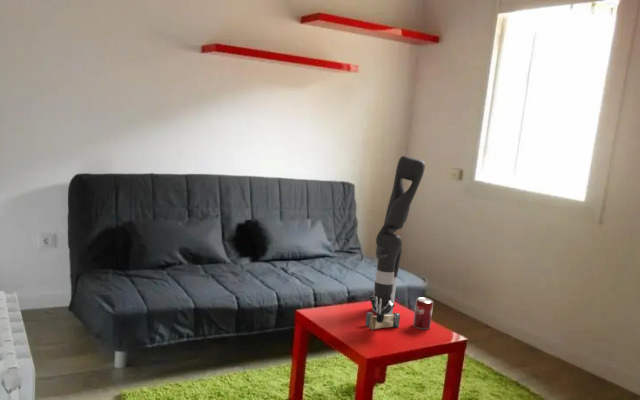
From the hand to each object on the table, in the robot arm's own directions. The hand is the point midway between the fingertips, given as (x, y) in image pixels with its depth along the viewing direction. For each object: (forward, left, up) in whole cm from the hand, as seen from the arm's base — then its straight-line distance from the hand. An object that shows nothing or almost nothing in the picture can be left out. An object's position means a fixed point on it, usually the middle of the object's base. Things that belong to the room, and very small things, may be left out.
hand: (379, 321), depth 233 cm
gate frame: (-5, +5, -4) cm, 8 cm away
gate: (-3, +3, -4) cm, 6 cm away
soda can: (-2, +22, -4) cm, 23 cm away
